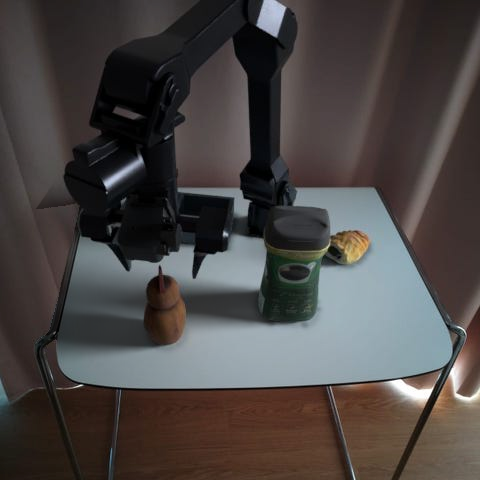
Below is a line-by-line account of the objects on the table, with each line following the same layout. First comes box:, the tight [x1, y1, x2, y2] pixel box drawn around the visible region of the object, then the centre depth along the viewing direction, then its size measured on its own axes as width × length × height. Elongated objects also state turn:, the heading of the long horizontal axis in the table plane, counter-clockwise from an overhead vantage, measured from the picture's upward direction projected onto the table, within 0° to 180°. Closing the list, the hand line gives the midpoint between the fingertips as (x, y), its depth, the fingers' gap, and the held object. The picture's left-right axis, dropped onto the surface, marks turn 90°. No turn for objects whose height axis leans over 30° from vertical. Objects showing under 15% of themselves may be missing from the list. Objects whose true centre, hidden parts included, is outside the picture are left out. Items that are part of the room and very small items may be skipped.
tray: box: [121, 191, 235, 245], centre depth 94 cm, size 20×11×4 cm, turn 83°
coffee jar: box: [257, 205, 331, 323], centre depth 75 cm, size 10×8×19 cm
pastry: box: [323, 229, 371, 265], centre depth 91 cm, size 9×7×4 cm
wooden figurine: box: [143, 264, 187, 346], centre depth 71 cm, size 7×6×15 cm
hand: (161, 273), depth 68 cm, fingers open, 9 cm apart
